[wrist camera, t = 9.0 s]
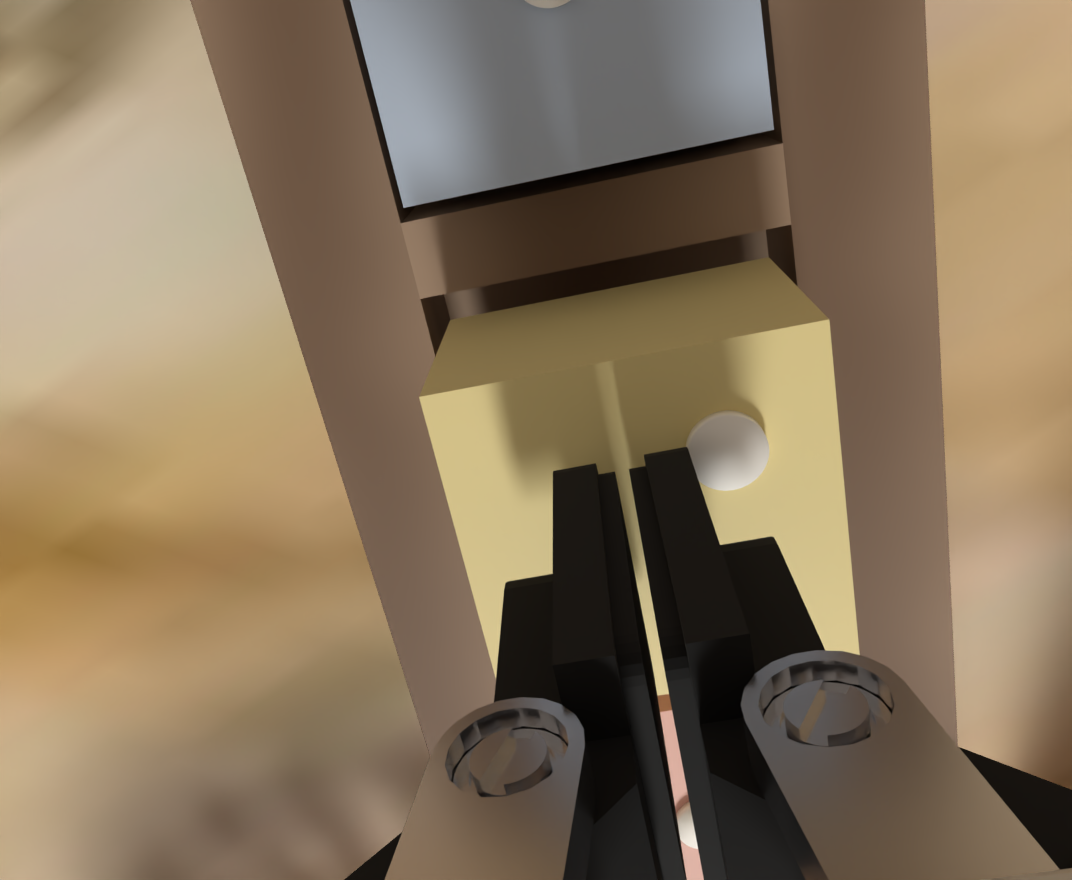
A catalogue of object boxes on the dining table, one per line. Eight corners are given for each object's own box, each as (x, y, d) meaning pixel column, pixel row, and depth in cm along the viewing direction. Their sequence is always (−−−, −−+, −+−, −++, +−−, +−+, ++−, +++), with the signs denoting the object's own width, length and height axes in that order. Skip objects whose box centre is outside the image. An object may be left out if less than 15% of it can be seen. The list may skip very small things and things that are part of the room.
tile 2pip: (768, 257, 14) (833, 324, 11) (800, 541, 16) (864, 673, 13) (449, 320, 15) (416, 402, 11) (517, 588, 17) (505, 727, 13)
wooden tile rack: (823, -414, 14) (900, -548, 11) (907, 772, 22) (964, 890, 19) (188, -243, 15) (89, -319, 12) (500, 829, 23) (491, 949, 20)
